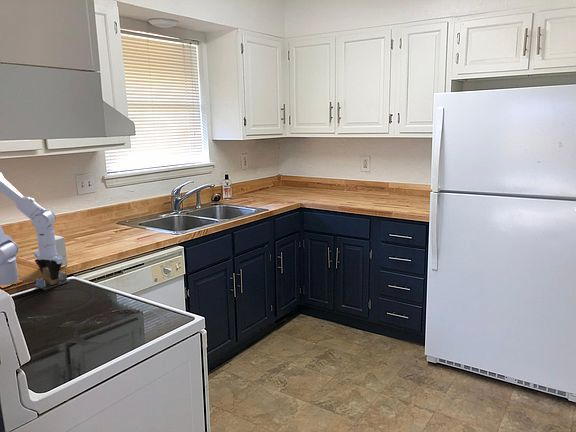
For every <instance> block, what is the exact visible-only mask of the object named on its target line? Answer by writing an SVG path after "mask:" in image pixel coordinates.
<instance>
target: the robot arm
mask: <svg viewBox="0 0 576 432" xmlns="http://www.w3.org/2000/svg"><path fill="white" fill-rule="evenodd" d="M0 193H1V194H3V195H4V196H5V197H7V198H9V199H10V200H11V201H13V203H14V204H15V203H16V208H17V210H18V211H20V212H21V213H23V215H24V216H26V217H27V218H28V219H29V220H31V225H32V226H33V227H34V229H35V232H36V237H37V247H38V250H35V251H33V256H34V258H36V259H34V263H36V265H37V266H38V268H39V270H40V273H41V275H42V276H43V271H42V268H43V267H46V266H47V267H48V269H49V272H50V276H51V279H52V280H55V279H58V275H59V271H61V268H60V267H61V265H62V263H63V258H62V257H60V256H59V255H58V254H57V253H56V244H55V235H56V234H55V228H54V224H55V222H56V219H57V217H56V215H55V213H54V212H53V211H52V210H50V209H46V208H45V207H42V206H41V205H40V204H39V203H38V202H36V199H35V198H33V197H30V196H24V195H23V194H22V193H21V192H19V190H17V189H16V187H15V186H13V185H12V184H11V183H10V182H9V181H8V180H7V179H6V178H5V177H4V175H3V173H2V172H1V171H0ZM19 250H20V249H19V246H18V245H17V243H16V242H15V241H14V240H13V238H12V236H10V235H8V234H5V231H4V229H3V227H2V225H1V224H0V285H8V284H12V283H15V282H17V281H18V279H19V275H18V274H19V273H18V266H17V259H16V258H17V257H16V256H17V255H18V253H19Z"/></svg>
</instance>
